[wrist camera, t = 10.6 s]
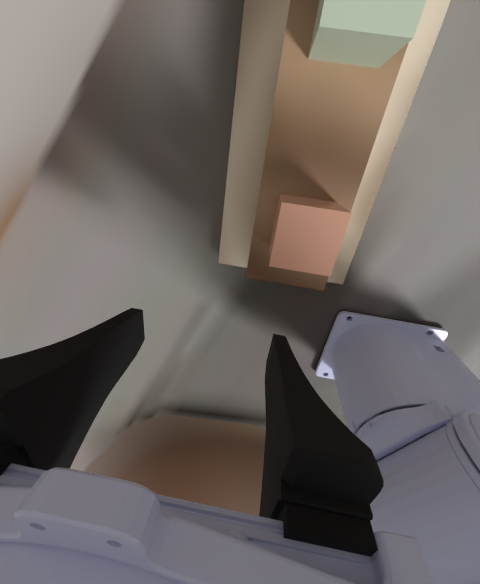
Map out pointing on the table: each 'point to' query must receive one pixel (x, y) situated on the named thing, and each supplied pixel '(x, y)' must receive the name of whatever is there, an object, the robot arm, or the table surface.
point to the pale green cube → (363, 30)
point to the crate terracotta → (307, 234)
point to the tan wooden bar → (316, 135)
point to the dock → (257, 117)
